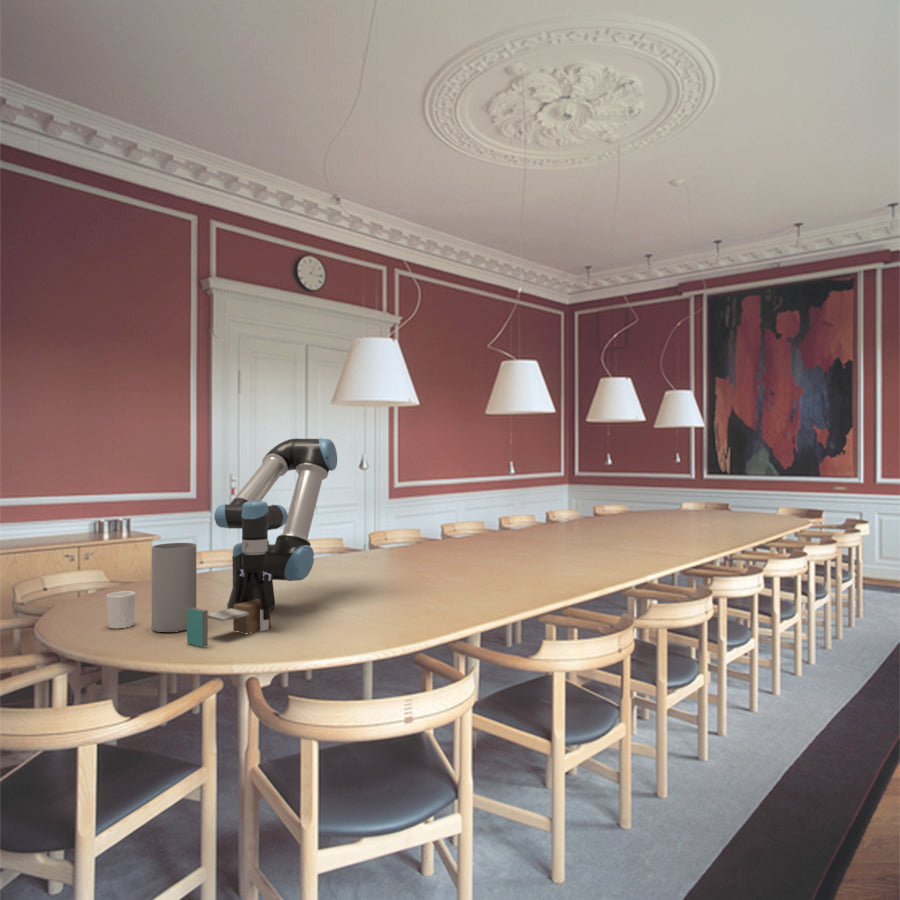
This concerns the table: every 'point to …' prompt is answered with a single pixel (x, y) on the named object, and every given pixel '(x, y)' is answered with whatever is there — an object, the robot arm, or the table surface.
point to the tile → (197, 626)
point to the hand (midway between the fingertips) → (254, 628)
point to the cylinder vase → (173, 585)
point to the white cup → (121, 609)
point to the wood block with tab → (242, 616)
